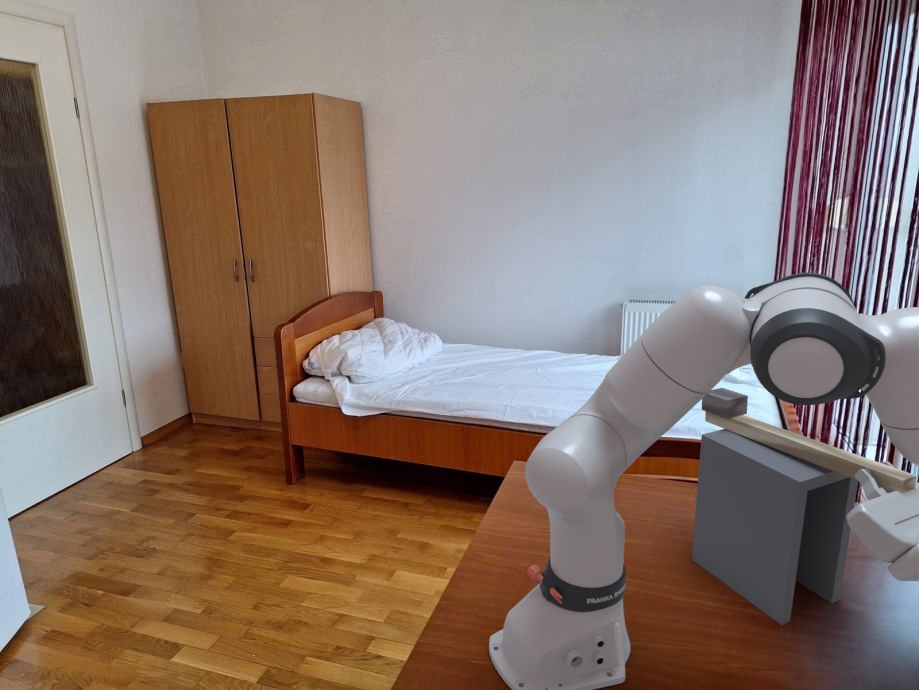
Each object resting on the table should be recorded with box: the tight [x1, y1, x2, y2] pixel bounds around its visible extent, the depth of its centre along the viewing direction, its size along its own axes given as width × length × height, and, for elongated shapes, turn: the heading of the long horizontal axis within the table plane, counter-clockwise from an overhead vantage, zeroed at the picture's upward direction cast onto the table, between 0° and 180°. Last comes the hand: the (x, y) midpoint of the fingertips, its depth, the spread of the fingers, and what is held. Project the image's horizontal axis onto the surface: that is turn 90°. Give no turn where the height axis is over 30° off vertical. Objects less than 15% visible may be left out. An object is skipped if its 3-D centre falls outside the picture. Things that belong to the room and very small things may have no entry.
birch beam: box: [701, 387, 917, 493], centre depth 103 cm, size 5×36×6 cm, turn 24°
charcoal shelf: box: [691, 428, 859, 626], centre depth 110 cm, size 14×20×26 cm
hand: (870, 467), depth 92 cm, fingers closed on birch beam, 3 cm apart
